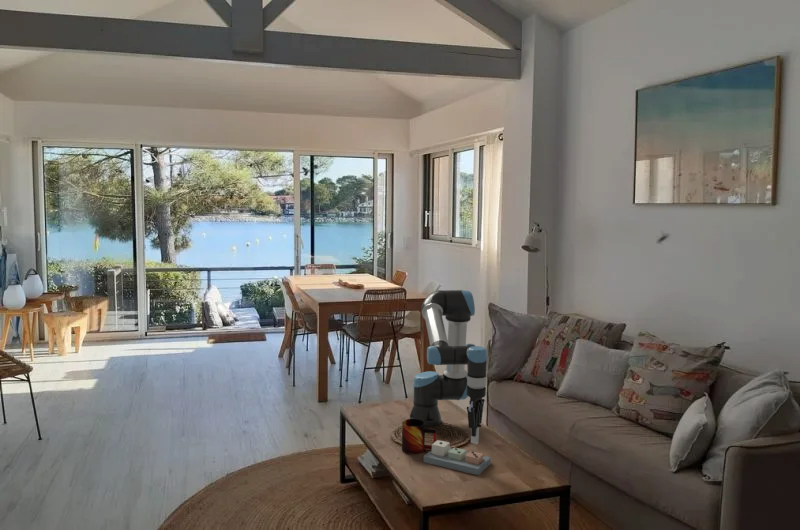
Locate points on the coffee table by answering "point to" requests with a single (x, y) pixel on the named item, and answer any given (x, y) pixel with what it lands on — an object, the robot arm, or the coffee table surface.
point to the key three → (474, 458)
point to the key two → (457, 454)
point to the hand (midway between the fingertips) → (474, 442)
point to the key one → (440, 448)
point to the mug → (415, 436)
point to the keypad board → (457, 463)
